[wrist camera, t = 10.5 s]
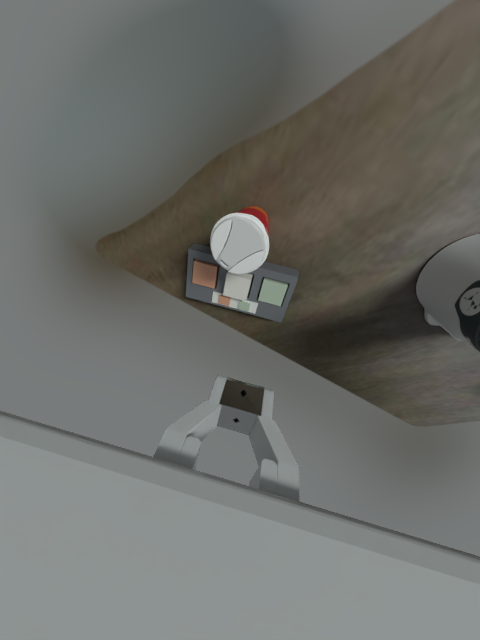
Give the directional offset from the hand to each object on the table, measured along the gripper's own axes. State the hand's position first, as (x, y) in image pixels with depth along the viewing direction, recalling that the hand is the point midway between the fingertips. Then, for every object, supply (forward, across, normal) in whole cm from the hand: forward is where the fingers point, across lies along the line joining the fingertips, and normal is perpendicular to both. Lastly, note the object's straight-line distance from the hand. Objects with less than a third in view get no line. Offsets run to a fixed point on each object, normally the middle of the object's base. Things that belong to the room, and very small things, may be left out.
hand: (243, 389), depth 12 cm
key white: (+31, +4, +10) cm, 33 cm away
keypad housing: (+34, +4, +11) cm, 36 cm away
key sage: (+33, -2, +10) cm, 34 cm away
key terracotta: (+33, +11, +10) cm, 36 cm away
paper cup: (+34, +4, 0) cm, 35 cm away
